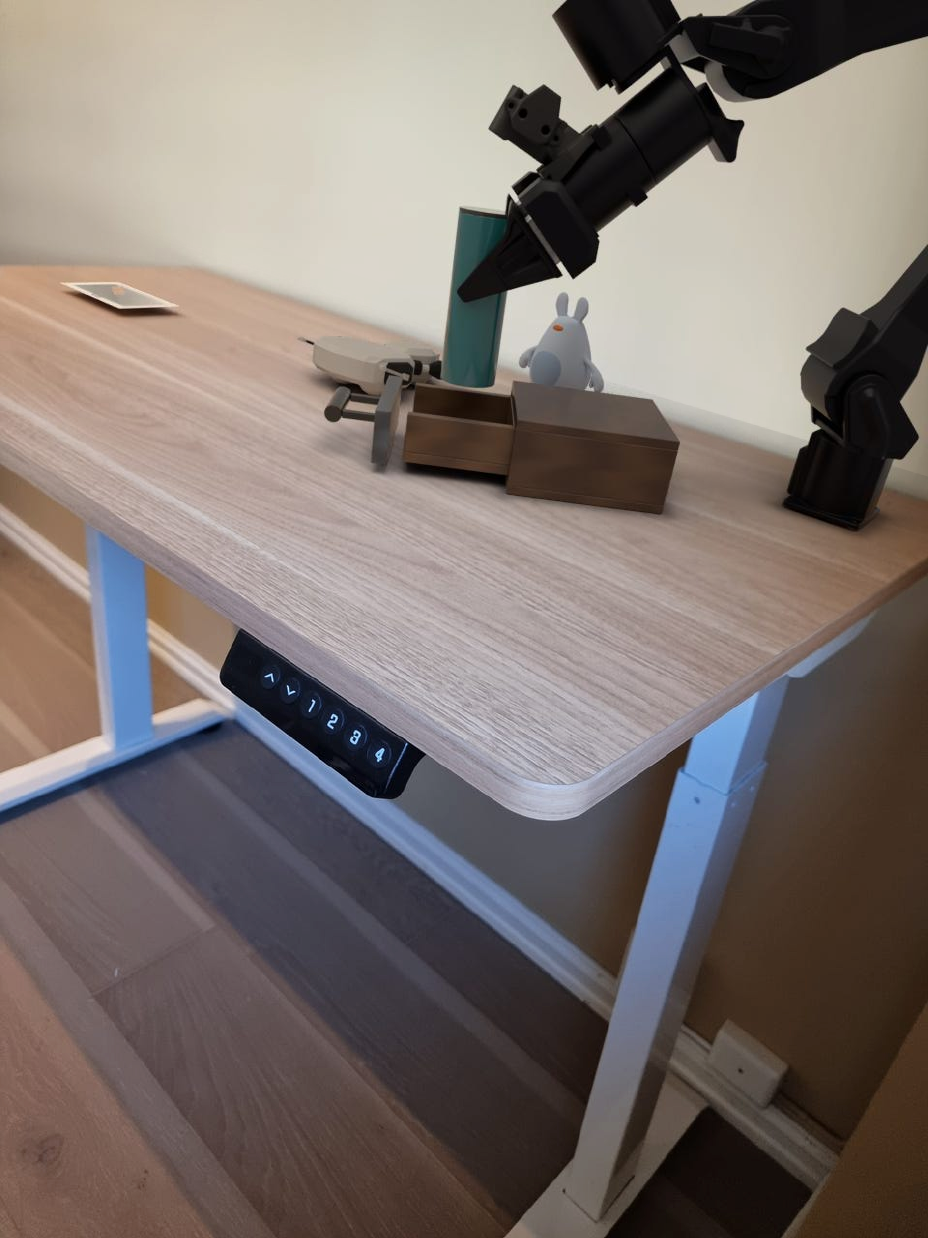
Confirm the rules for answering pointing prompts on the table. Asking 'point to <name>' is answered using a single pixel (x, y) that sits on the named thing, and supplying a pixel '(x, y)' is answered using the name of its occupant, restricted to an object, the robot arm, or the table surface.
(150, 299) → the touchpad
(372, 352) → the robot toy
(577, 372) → the toy figure
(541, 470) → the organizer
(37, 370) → the table surface
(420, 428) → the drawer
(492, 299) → the lidded cylindrical canister
